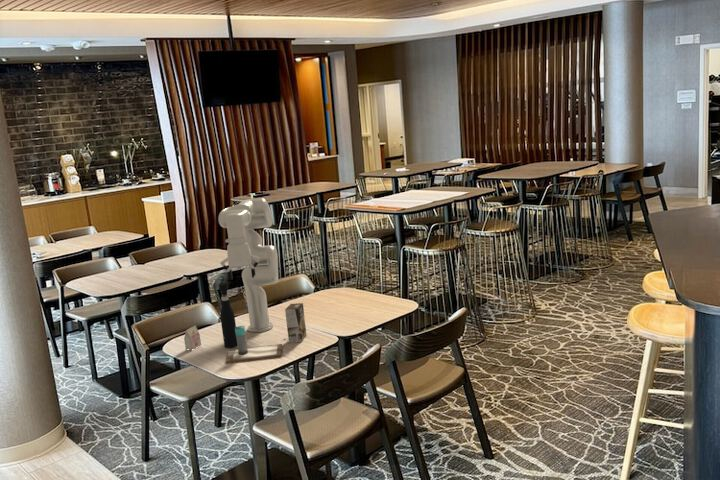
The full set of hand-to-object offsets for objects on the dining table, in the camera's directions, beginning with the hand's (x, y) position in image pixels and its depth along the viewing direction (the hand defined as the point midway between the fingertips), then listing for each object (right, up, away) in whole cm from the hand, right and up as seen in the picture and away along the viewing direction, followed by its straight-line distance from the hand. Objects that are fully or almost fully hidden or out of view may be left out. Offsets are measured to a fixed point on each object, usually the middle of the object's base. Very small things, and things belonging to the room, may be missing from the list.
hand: (242, 278), depth 297 cm
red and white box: (-25, -34, +15) cm, 45 cm away
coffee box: (+24, -29, +14) cm, 40 cm away
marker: (+1, -33, -2) cm, 33 cm away
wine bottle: (-7, -32, +13) cm, 36 cm away
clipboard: (+6, -34, -1) cm, 34 cm away
